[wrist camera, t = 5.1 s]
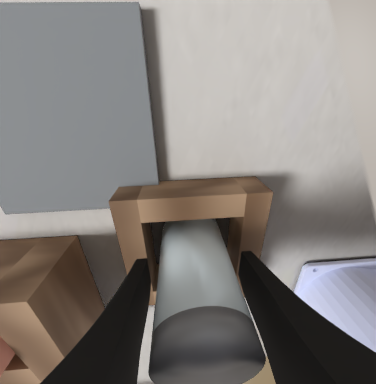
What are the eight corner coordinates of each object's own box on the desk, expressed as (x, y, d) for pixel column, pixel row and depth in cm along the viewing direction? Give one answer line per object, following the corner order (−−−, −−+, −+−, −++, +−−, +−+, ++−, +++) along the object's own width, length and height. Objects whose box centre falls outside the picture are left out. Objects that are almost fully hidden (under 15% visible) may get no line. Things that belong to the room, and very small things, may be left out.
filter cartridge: (219, 207, 13) (275, 331, 6) (217, 252, 15) (256, 387, 8) (159, 210, 13) (140, 344, 6) (164, 256, 15) (155, 398, 8)
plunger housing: (77, 235, 13) (26, 301, 9) (105, 309, 17) (80, 381, 13) (-51, 243, 13) (-173, 317, 8) (7, 317, 17) (-54, 394, 12)
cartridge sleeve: (254, 176, 12) (273, 192, 10) (241, 269, 16) (252, 296, 14) (121, 183, 12) (108, 201, 9) (140, 277, 16) (135, 306, 13)
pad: (140, 8, 8) (138, 2, 8) (161, 201, 12) (160, 205, 12) (-94, 10, 8) (-114, 3, 7) (12, 209, 12) (5, 214, 11)
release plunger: (45, 273, 14) (-18, 354, 9) (59, 299, 15) (11, 381, 11) (2, 276, 14) (-84, 360, 9) (20, 302, 15) (-46, 386, 10)
